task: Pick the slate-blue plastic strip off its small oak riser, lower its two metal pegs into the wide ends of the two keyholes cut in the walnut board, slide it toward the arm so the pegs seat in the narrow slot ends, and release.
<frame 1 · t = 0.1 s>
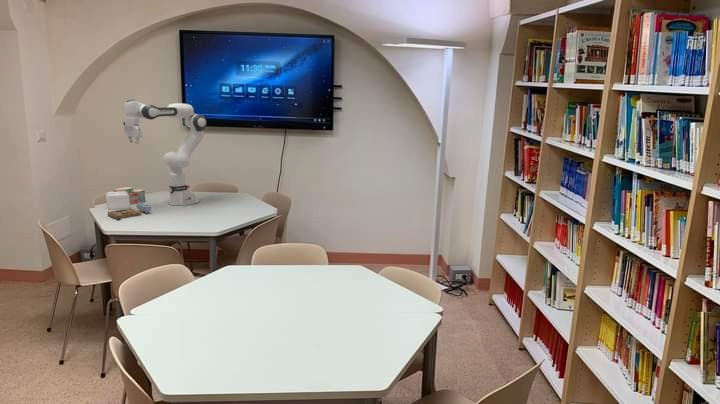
hand: (134, 143, 358), 48 cm above the table, fingers open, 8 cm apart
cable organizer: (118, 208, 370), on the table
stack of blocks: (130, 203, 386), on the table
board: (124, 216, 349), on the table
strip: (144, 212, 358), point 1 cm above the table, touching riser
riser: (144, 213, 358), on the table
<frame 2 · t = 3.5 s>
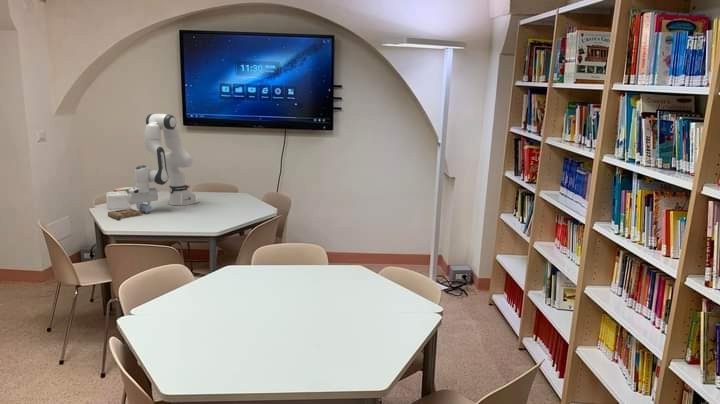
hand: (143, 208, 358), 3 cm above the table, fingers closed on strip, 4 cm apart
strip: (144, 212, 358), point 1 cm above the table, touching gripper, riser
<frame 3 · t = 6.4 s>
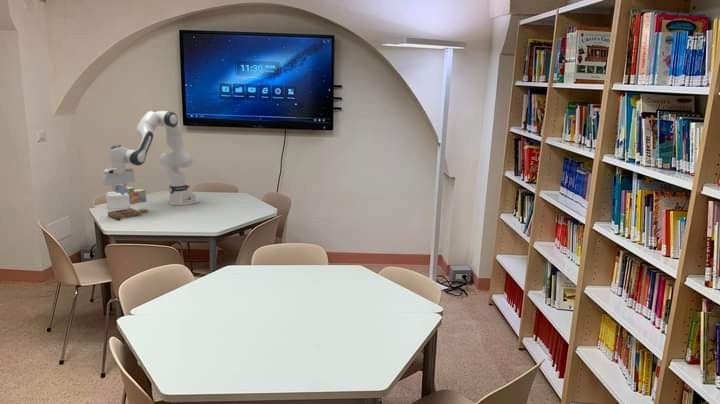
hand: (119, 190, 343), 18 cm above the table, fingers closed on strip, 4 cm apart
strip: (120, 193, 344), point 16 cm above the table, touching gripper
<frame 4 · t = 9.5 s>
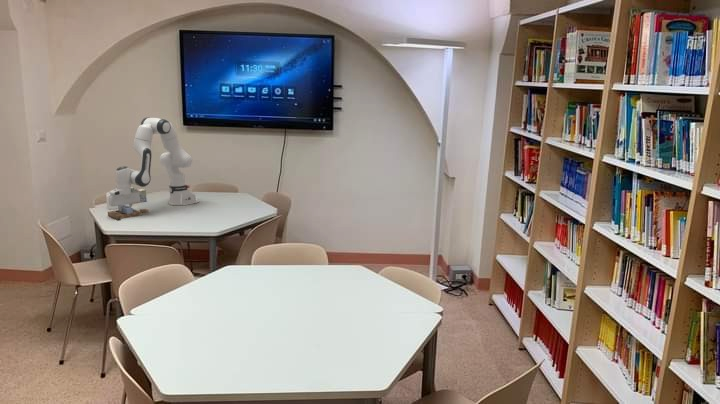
hand: (125, 210, 349), 4 cm above the table, fingers closed on strip, 4 cm apart
strip: (125, 214, 349), point 1 cm above the table, touching board, gripper
when the fingers open (4 cm above the table, at t = 10.2 s): strip stays where it is, resting on board.
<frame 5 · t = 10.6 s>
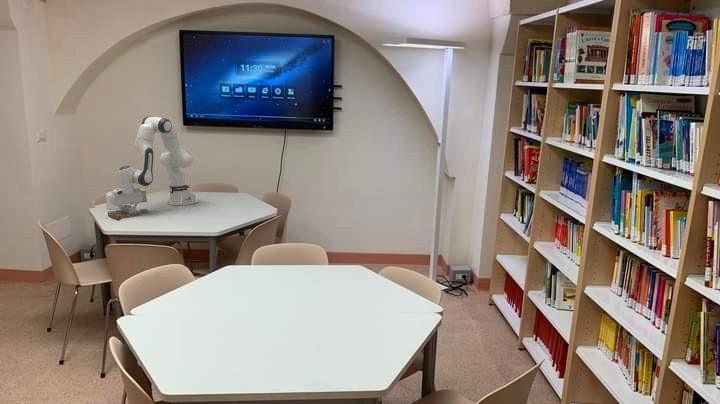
hand: (128, 209, 350), 4 cm above the table, fingers open, 8 cm apart
strip: (128, 213, 350), point 1 cm above the table, touching board
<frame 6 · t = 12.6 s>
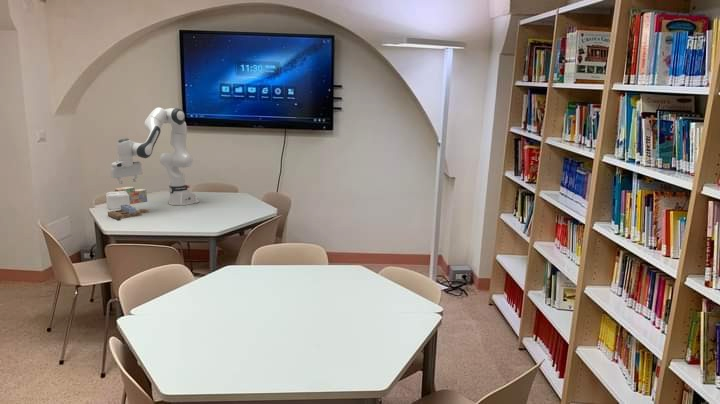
hand: (127, 182, 351), 22 cm above the table, fingers open, 8 cm apart
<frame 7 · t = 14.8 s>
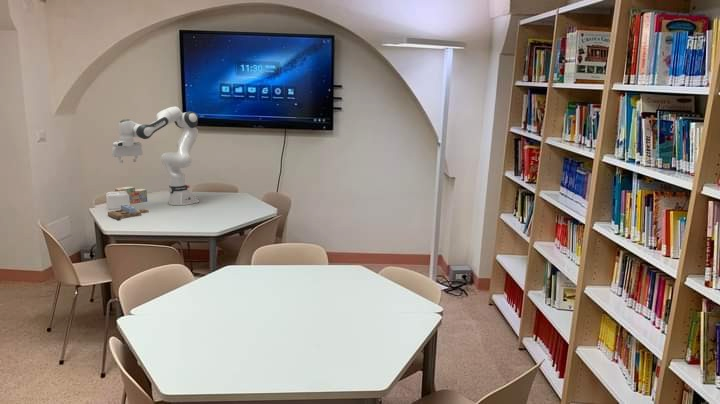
hand: (128, 162, 361), 34 cm above the table, fingers open, 8 cm apart
at the end: strip 0.2 cm from the target spot on the board, point 1.3 cm above the board's base; strip tilted 0°; the gripper is holding nothing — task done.
